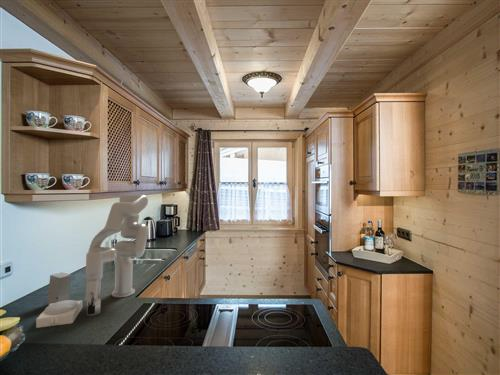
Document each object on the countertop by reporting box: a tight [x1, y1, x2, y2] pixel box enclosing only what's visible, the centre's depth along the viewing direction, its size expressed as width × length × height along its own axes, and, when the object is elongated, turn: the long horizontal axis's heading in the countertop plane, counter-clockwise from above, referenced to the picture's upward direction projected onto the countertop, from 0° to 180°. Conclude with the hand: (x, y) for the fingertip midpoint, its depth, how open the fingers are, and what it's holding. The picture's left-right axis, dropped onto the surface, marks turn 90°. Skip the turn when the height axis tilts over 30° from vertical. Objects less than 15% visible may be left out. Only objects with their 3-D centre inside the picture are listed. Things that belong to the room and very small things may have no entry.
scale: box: [35, 299, 83, 328], centre depth 126 cm, size 17×14×5 cm
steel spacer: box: [86, 296, 102, 317], centre depth 131 cm, size 6×6×7 cm
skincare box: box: [46, 272, 72, 306], centre depth 140 cm, size 8×7×16 cm
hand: (93, 309), depth 131 cm, fingers open, 9 cm apart
